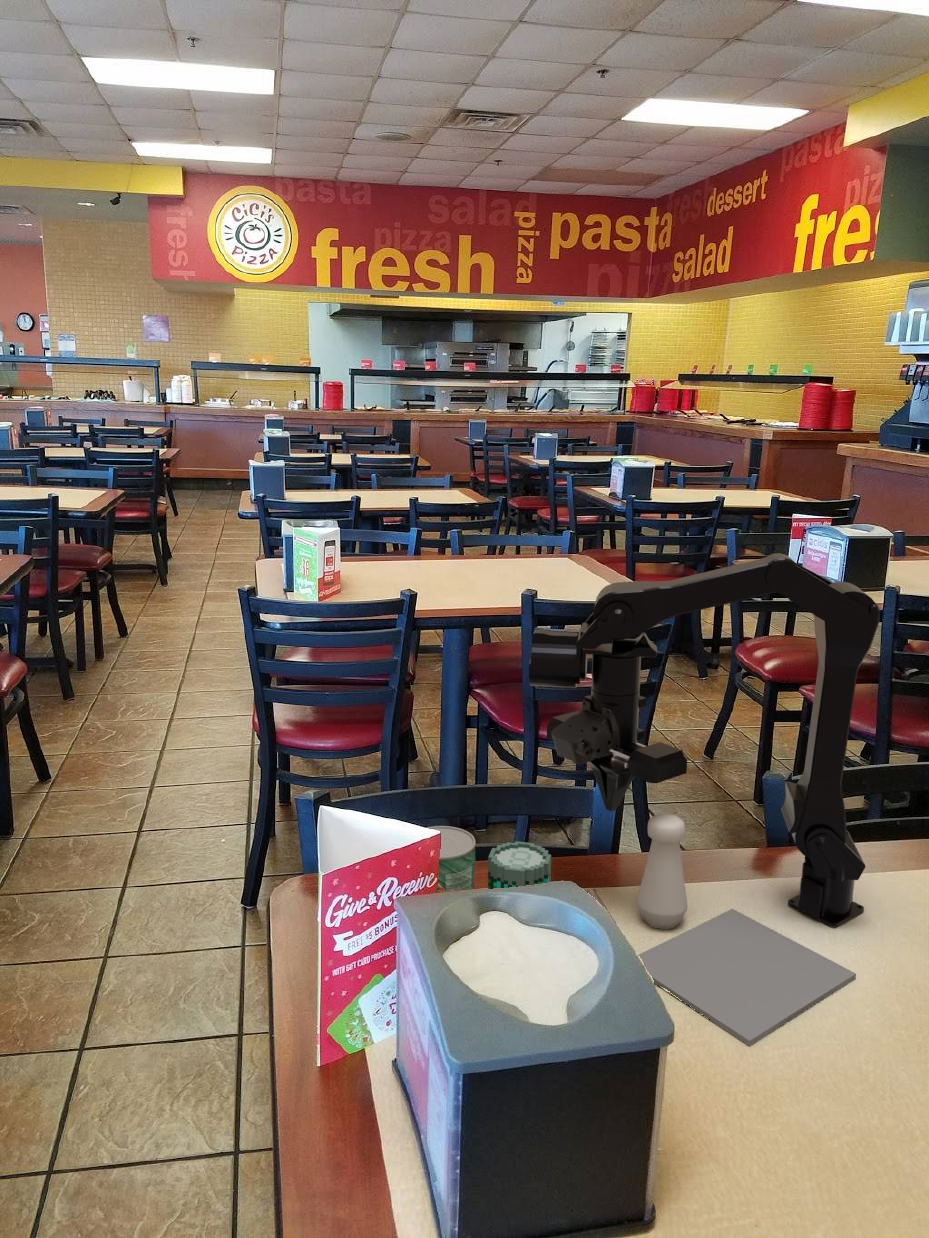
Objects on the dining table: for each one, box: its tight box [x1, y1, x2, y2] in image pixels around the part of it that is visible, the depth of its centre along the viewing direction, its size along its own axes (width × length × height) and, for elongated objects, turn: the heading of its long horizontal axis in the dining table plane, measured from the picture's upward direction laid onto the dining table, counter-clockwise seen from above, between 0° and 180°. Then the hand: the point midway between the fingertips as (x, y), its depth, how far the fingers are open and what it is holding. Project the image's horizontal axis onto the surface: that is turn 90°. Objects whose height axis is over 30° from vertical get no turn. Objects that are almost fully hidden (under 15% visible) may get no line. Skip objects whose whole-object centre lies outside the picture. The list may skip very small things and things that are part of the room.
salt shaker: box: [637, 813, 688, 930], centre depth 106 cm, size 6×6×13 cm
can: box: [487, 840, 552, 890], centre depth 93 cm, size 6×6×15 cm
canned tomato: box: [426, 825, 477, 892], centre depth 105 cm, size 8×8×11 cm
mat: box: [637, 908, 857, 1047], centre depth 98 cm, size 18×16×1 cm
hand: (610, 809), depth 112 cm, fingers closed
